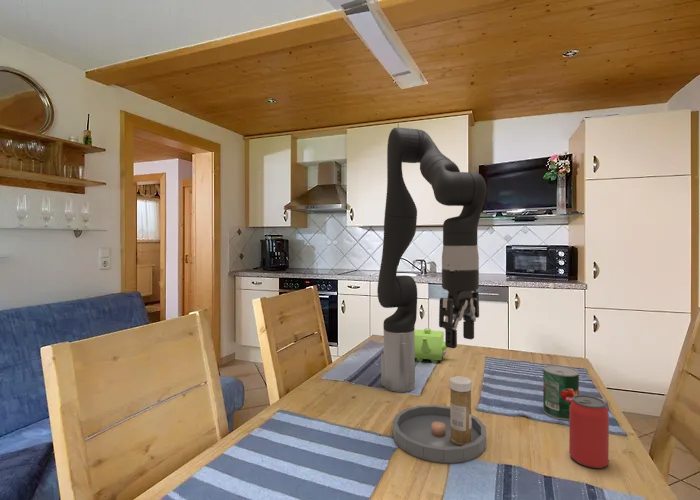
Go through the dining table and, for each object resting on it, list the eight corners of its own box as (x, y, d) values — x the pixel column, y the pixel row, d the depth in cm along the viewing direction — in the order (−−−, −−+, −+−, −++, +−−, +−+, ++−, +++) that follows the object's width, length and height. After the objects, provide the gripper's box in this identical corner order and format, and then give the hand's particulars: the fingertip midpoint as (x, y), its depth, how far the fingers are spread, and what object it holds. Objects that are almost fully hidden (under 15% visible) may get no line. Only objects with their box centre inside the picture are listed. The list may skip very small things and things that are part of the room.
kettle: (457, 361, 137) (457, 330, 137) (426, 368, 130) (425, 336, 130) (429, 351, 150) (429, 322, 150) (400, 356, 144) (400, 327, 143)
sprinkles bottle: (476, 442, 81) (476, 380, 81) (462, 449, 79) (461, 384, 78) (459, 433, 85) (459, 373, 85) (445, 439, 82) (445, 378, 82)
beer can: (562, 451, 79) (562, 394, 78) (592, 449, 79) (592, 392, 79) (584, 471, 72) (584, 408, 72) (616, 468, 73) (617, 406, 72)
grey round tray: (375, 440, 84) (375, 427, 84) (422, 409, 99) (422, 398, 99) (461, 476, 71) (461, 461, 71) (499, 434, 86) (499, 421, 86)
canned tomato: (545, 403, 101) (545, 362, 101) (580, 411, 97) (580, 368, 97) (540, 415, 95) (540, 371, 95) (577, 423, 90) (577, 377, 90)
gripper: (458, 264, 89) (458, 333, 89) (427, 268, 78) (427, 347, 78) (490, 265, 84) (490, 339, 84) (462, 270, 73) (462, 354, 73)
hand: (460, 342), depth 81 cm, fingers open, 8 cm apart
